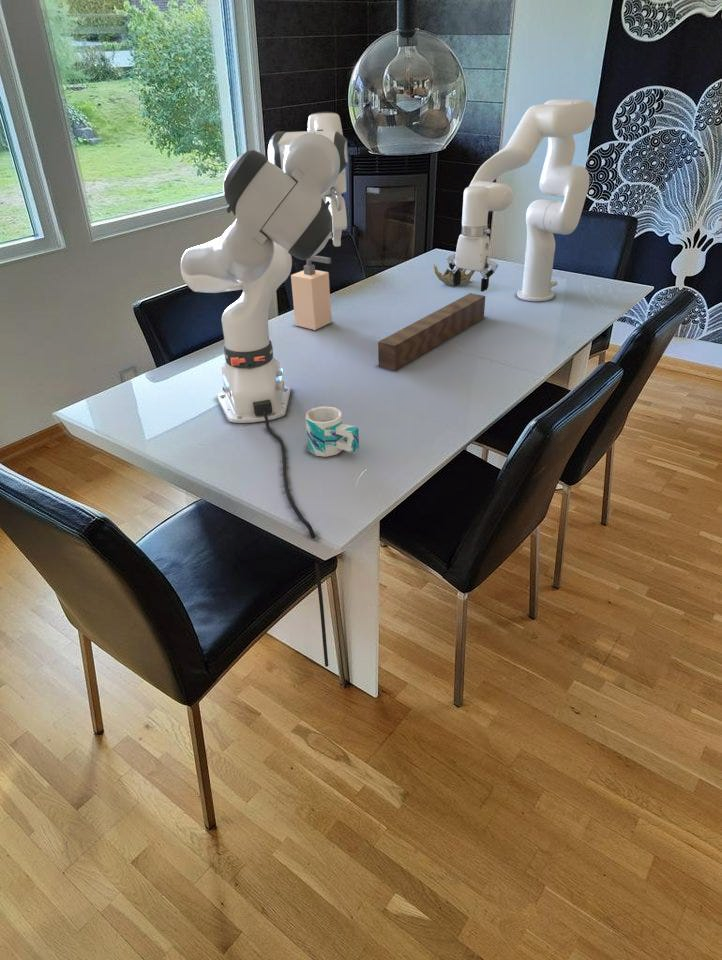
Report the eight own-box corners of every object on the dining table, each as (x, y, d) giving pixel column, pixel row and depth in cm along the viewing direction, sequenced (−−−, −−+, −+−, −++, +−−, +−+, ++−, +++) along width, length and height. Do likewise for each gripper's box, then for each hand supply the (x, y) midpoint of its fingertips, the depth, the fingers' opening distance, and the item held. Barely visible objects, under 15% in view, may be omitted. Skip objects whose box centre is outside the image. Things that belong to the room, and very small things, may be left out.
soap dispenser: (294, 325, 217) (288, 256, 206) (311, 317, 223) (306, 249, 211) (325, 332, 211) (320, 261, 199) (342, 324, 217) (338, 255, 205)
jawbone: (424, 270, 248) (439, 245, 244) (454, 288, 255) (469, 265, 252) (433, 277, 241) (449, 253, 237) (463, 297, 248) (480, 273, 245)
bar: (394, 370, 185) (394, 345, 181) (378, 366, 188) (378, 341, 184) (483, 318, 218) (485, 295, 214) (468, 314, 221) (470, 293, 217)
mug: (322, 435, 155) (320, 402, 150) (366, 448, 149) (365, 414, 145) (301, 451, 149) (297, 417, 145) (345, 465, 144) (343, 430, 139)
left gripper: (351, 189, 160) (354, 249, 168) (331, 178, 177) (335, 233, 184) (325, 192, 159) (330, 252, 166) (308, 181, 176) (312, 235, 183)
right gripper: (505, 232, 199) (500, 289, 208) (455, 225, 208) (452, 280, 217) (493, 237, 194) (489, 295, 203) (442, 230, 203) (440, 286, 212)
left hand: (332, 242), depth 176 cm, fingers open, 8 cm apart
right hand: (470, 287), depth 210 cm, fingers open, 9 cm apart
